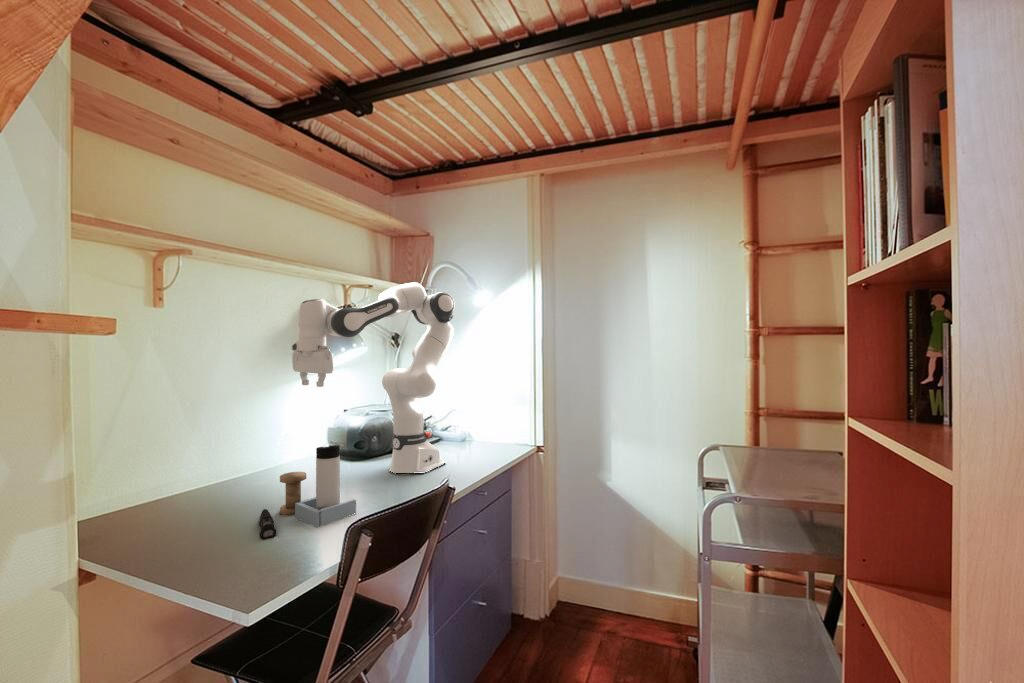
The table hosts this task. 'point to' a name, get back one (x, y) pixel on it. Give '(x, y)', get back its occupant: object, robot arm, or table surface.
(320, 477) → the travel mug
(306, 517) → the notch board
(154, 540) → the table surface
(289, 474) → the bobbin
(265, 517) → the electric trimmer
